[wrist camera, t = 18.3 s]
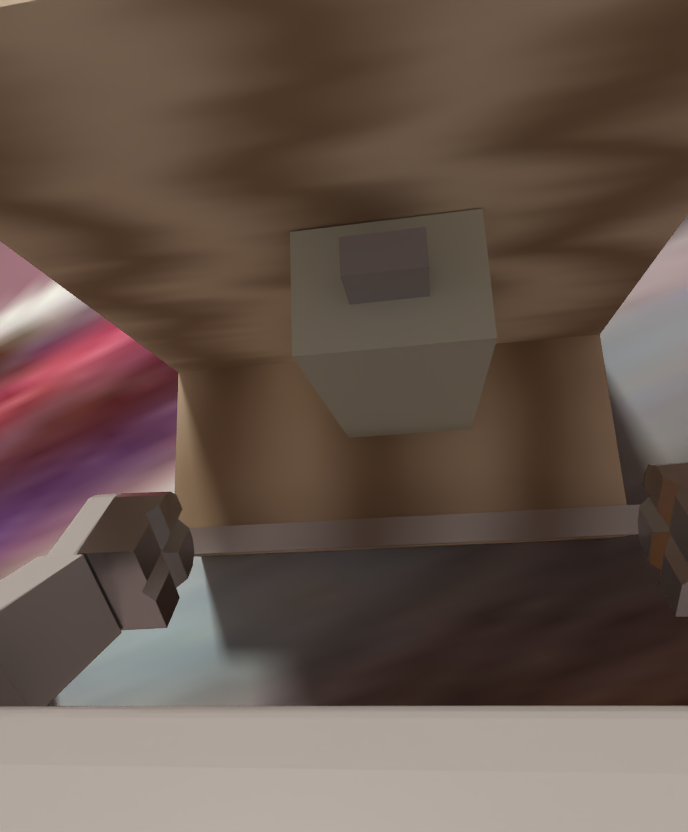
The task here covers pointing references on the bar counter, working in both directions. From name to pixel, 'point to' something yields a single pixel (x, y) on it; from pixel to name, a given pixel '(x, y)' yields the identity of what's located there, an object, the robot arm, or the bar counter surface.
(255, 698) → the bar counter surface
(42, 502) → the bar counter surface
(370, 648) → the bar counter surface
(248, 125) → the back board shelf
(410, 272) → the beige block
